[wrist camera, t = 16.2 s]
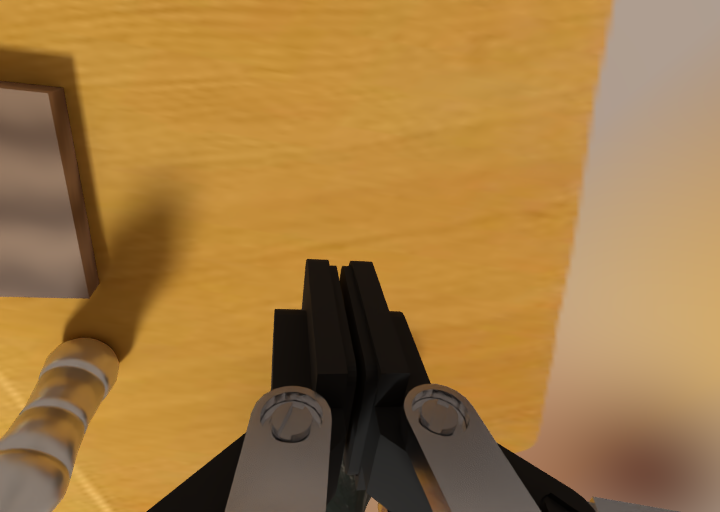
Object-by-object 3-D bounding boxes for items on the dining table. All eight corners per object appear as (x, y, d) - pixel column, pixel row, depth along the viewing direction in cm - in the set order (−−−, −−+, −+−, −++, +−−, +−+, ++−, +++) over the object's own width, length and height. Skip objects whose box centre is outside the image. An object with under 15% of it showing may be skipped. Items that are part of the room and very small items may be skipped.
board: (-91, 71, 31) (-119, 75, 29) (63, 87, 33) (47, 93, 31) (-20, 280, 40) (-37, 295, 38) (99, 283, 42) (89, 298, 40)
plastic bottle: (101, 320, 44) (-17, 522, 27) (137, 365, 47) (54, 569, 30) (42, 341, 44) (-113, 554, 27) (83, 384, 47) (-32, 597, 30)
